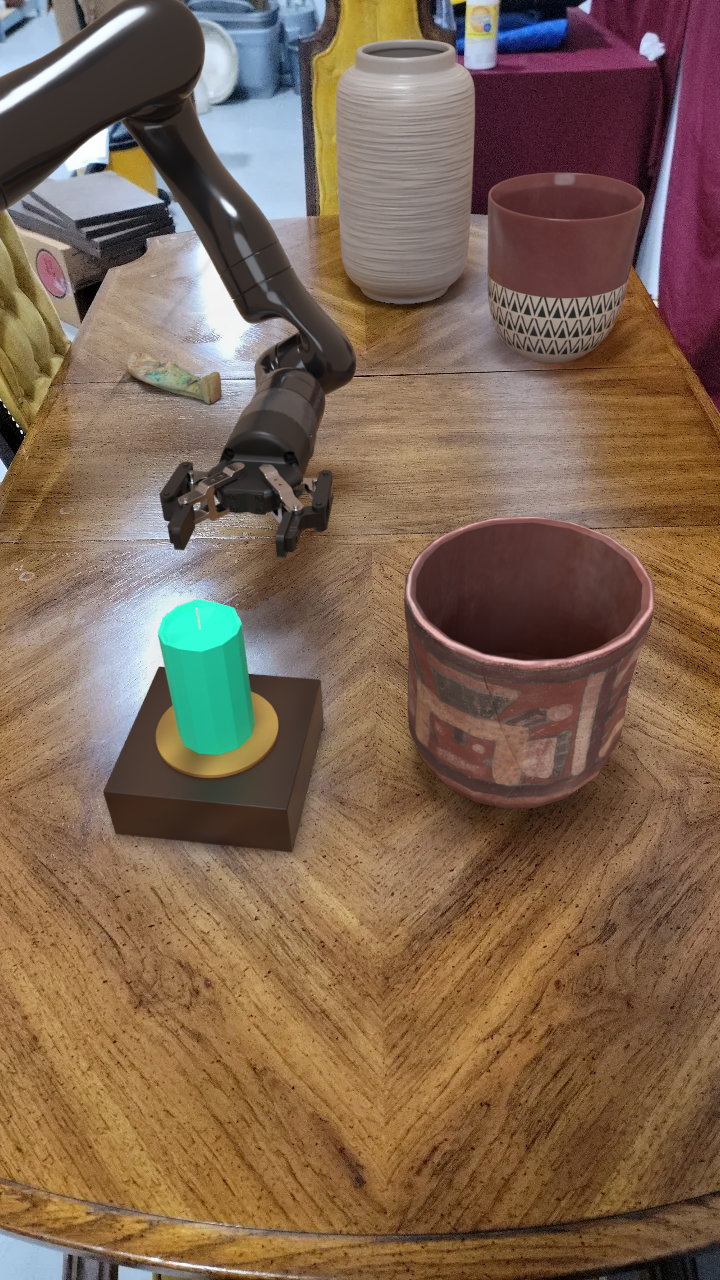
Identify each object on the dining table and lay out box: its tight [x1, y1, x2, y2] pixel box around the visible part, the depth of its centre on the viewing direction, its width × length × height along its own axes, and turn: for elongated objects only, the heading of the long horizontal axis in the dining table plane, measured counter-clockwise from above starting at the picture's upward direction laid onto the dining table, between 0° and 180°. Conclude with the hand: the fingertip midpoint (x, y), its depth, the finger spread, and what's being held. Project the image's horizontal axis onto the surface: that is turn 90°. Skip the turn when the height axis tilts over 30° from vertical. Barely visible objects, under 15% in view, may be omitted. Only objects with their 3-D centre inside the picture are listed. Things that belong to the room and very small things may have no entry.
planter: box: [487, 172, 646, 365], centre depth 132 cm, size 20×20×21 cm
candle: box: [157, 598, 255, 755], centre depth 74 cm, size 6×6×12 cm
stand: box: [102, 666, 325, 853], centre depth 79 cm, size 14×14×5 cm
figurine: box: [126, 350, 223, 405], centre depth 133 cm, size 6×15×4 cm, turn 48°
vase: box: [335, 38, 476, 305], centre depth 148 cm, size 20×20×34 cm
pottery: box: [403, 515, 656, 810], centre depth 76 cm, size 18×18×18 cm
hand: (228, 545), depth 79 cm, fingers open, 8 cm apart
